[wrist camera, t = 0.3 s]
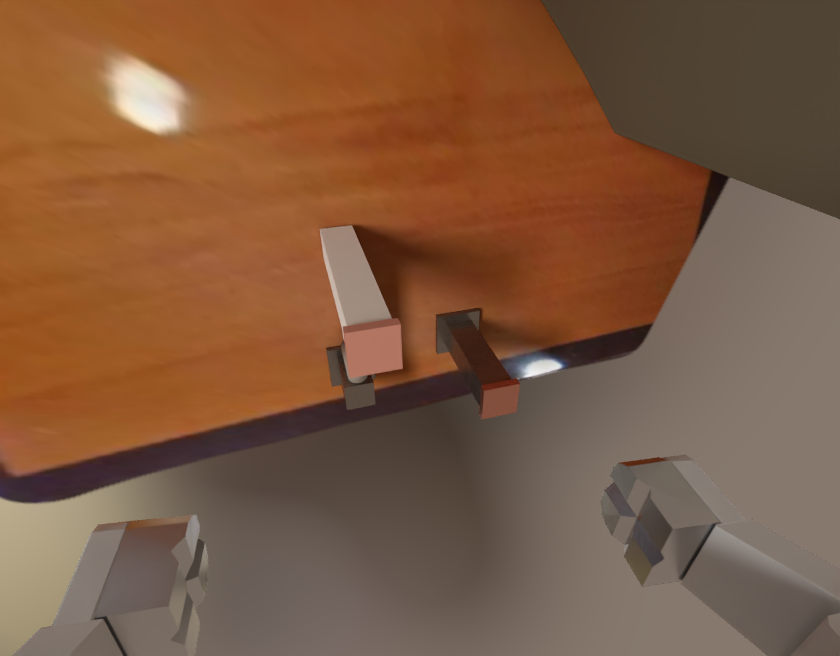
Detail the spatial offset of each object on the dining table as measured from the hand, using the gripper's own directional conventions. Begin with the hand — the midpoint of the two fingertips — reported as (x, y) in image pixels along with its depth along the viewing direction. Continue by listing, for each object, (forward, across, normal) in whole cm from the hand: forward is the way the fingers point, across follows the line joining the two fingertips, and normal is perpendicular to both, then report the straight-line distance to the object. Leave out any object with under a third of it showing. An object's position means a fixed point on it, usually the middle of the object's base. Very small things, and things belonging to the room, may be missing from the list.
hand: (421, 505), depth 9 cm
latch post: (+40, -13, +22) cm, 47 cm away
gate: (+38, 0, +16) cm, 41 cm away
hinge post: (+39, -1, +25) cm, 46 cm away
